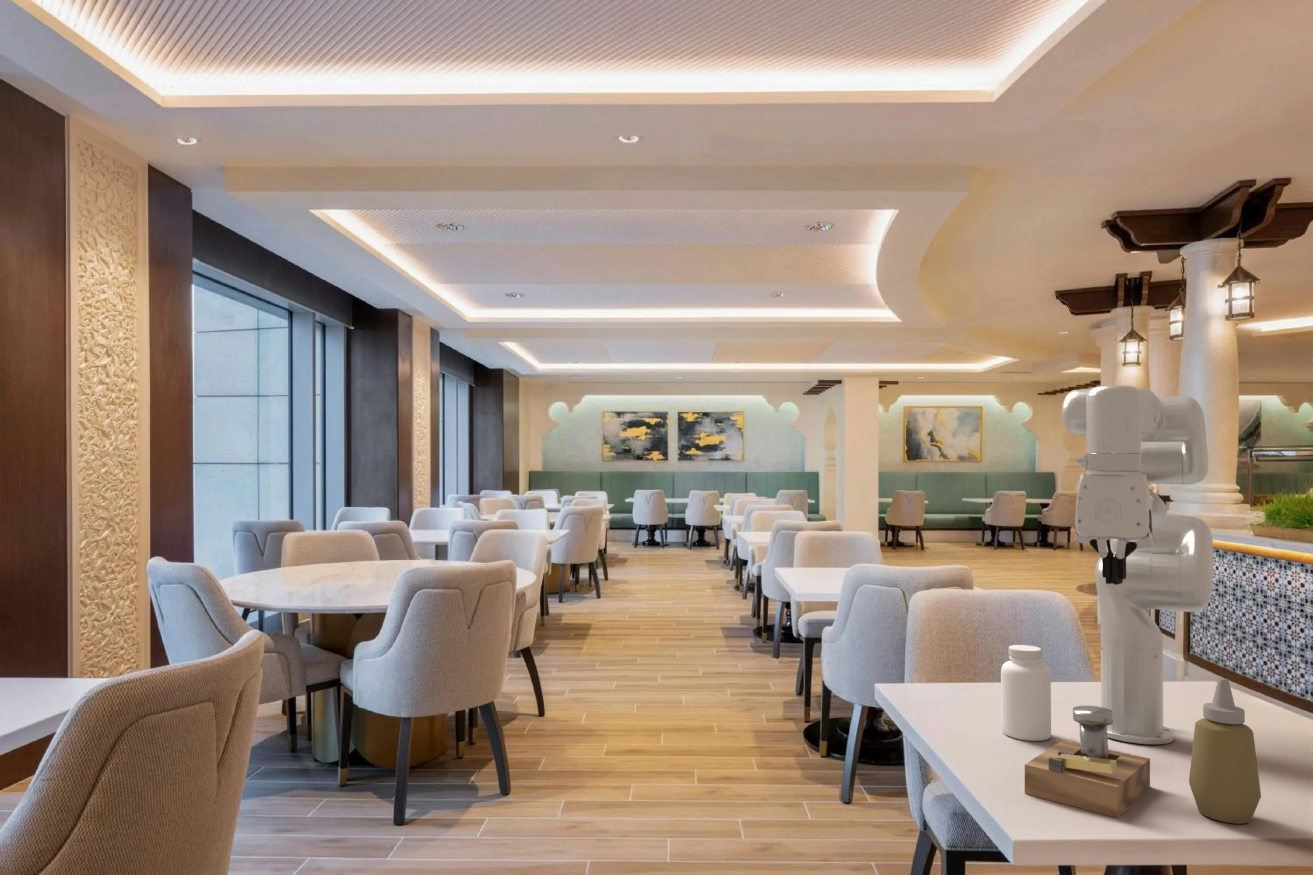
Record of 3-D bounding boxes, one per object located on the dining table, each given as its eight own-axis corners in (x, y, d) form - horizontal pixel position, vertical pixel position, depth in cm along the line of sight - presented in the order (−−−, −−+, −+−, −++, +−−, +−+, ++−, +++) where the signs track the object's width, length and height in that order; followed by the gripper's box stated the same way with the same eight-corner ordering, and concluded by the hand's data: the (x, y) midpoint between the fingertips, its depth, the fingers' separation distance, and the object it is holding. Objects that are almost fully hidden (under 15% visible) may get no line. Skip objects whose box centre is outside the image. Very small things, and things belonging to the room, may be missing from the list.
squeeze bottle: (1174, 804, 118) (1174, 672, 119) (1230, 803, 119) (1229, 672, 119) (1217, 829, 110) (1217, 687, 111) (1277, 828, 111) (1275, 687, 111)
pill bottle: (990, 730, 151) (990, 644, 151) (1025, 725, 154) (1025, 641, 154) (1026, 744, 143) (1026, 653, 144) (1061, 739, 147) (1061, 650, 147)
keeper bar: (1063, 762, 122) (1062, 753, 122) (1117, 769, 117) (1116, 760, 117) (1057, 766, 120) (1056, 757, 120) (1111, 773, 115) (1110, 764, 115)
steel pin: (1082, 774, 129) (1078, 703, 130) (1120, 781, 126) (1116, 709, 126) (1071, 784, 126) (1067, 711, 126) (1110, 792, 122) (1106, 717, 122)
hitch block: (1063, 765, 133) (1063, 729, 133) (1150, 786, 125) (1149, 747, 125) (1024, 792, 121) (1024, 752, 122) (1117, 817, 113) (1117, 774, 113)
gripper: (1055, 464, 136) (1055, 580, 136) (1161, 466, 126) (1162, 591, 126) (1070, 464, 142) (1071, 576, 141) (1174, 465, 132) (1175, 585, 131)
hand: (1114, 582), depth 134 cm, fingers closed
